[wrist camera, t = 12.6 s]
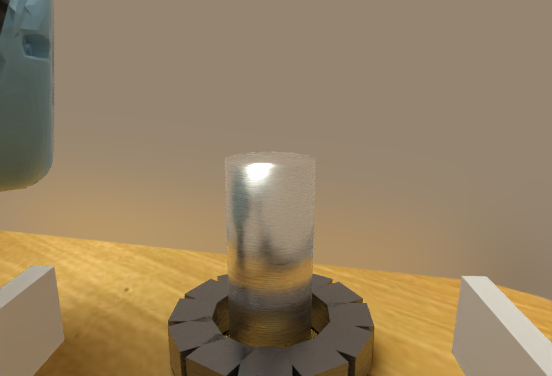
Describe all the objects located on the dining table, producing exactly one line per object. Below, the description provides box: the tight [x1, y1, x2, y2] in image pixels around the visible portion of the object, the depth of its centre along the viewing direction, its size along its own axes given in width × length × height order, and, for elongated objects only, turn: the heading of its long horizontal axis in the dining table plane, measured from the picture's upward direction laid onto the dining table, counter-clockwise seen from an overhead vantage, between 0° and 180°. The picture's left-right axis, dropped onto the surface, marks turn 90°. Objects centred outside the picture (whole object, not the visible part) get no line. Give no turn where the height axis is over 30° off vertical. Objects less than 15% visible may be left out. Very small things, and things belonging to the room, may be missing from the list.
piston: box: [225, 152, 316, 348], centre depth 24 cm, size 5×5×12 cm
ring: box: [168, 274, 374, 376], centre depth 26 cm, size 12×12×2 cm
